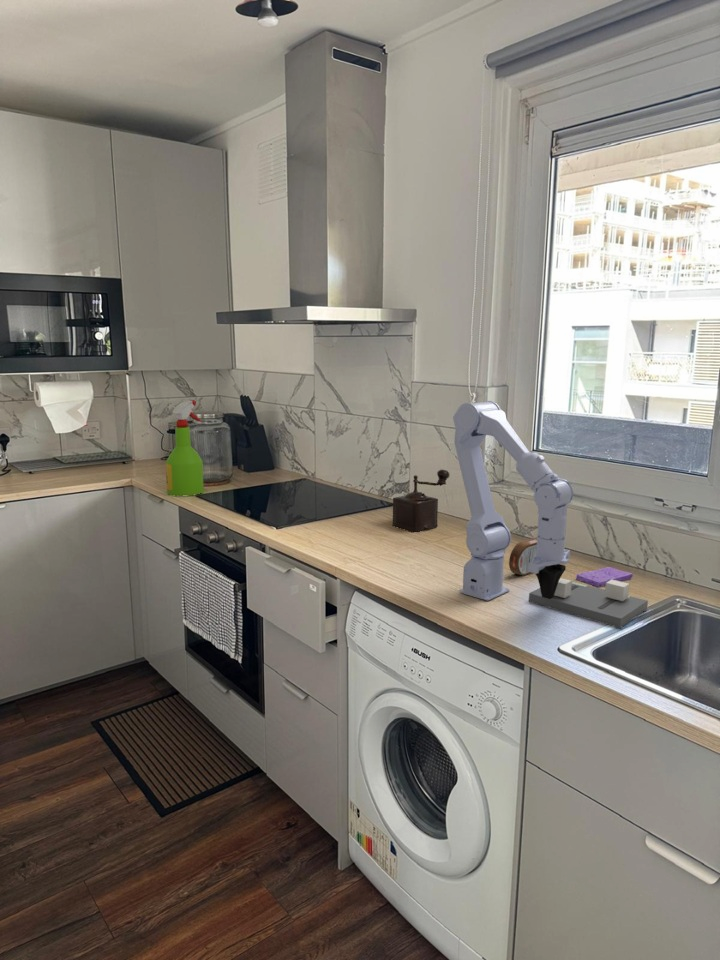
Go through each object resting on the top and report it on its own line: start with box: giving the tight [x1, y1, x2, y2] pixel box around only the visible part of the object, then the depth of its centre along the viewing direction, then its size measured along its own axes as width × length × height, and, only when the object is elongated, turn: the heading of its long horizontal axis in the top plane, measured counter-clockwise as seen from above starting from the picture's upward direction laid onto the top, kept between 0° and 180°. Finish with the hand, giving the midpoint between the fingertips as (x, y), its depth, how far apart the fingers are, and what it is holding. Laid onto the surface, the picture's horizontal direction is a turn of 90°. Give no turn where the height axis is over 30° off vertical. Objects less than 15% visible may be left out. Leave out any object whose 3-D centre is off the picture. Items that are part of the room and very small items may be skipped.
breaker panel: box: [528, 581, 649, 629], centre depth 153 cm, size 14×21×2 cm, turn 47°
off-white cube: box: [554, 577, 573, 598], centre depth 154 cm, size 3×4×3 cm
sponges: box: [576, 566, 634, 588], centre depth 171 cm, size 7×13×2 cm, turn 122°
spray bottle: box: [165, 399, 205, 497], centre depth 265 cm, size 14×18×35 cm
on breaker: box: [604, 580, 630, 601], centre depth 152 cm, size 3×4×3 cm
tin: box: [508, 536, 537, 576], centre depth 176 cm, size 15×3×8 cm, turn 131°
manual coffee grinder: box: [392, 469, 450, 533], centre depth 218 cm, size 16×11×18 cm
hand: (547, 597), depth 150 cm, fingers closed
